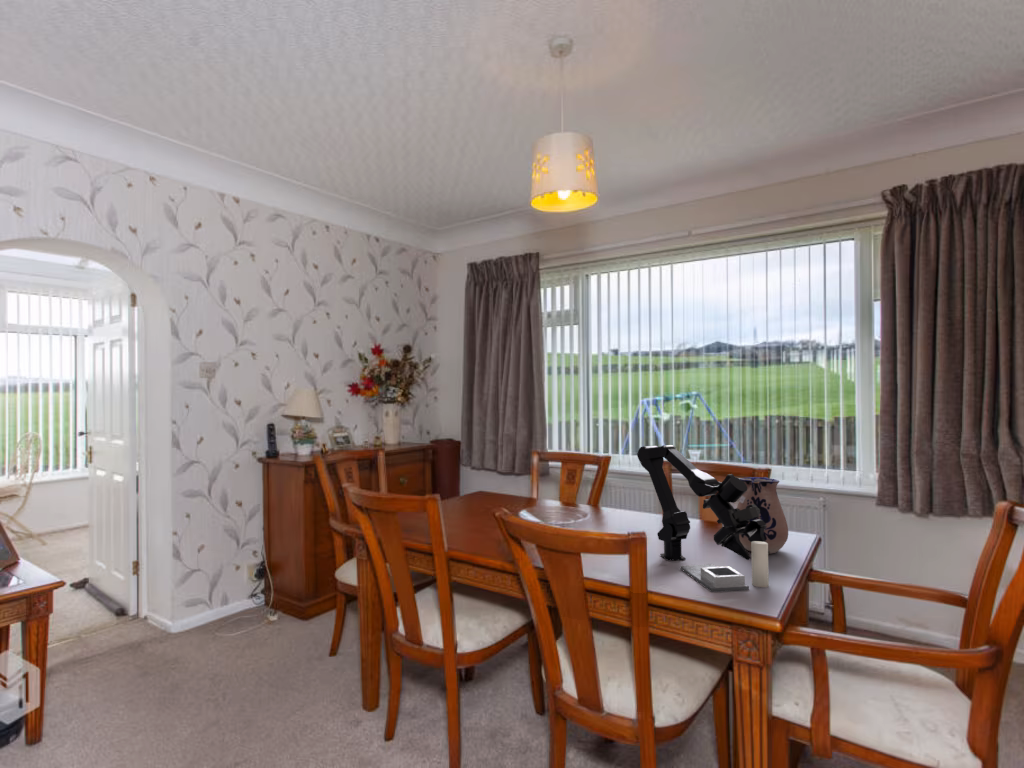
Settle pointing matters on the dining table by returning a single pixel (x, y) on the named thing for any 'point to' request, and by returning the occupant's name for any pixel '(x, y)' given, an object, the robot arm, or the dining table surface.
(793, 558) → the dining table surface
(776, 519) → the ceramic pitcher
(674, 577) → the dining table surface
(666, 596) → the dining table surface
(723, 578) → the socket
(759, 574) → the peg
